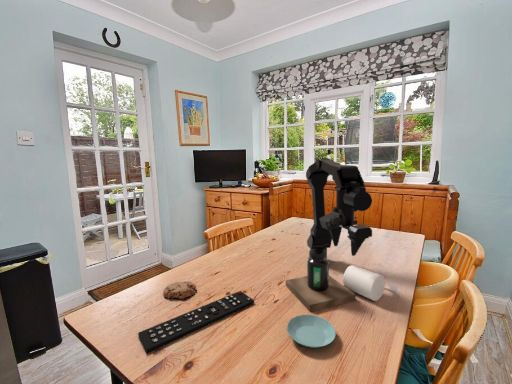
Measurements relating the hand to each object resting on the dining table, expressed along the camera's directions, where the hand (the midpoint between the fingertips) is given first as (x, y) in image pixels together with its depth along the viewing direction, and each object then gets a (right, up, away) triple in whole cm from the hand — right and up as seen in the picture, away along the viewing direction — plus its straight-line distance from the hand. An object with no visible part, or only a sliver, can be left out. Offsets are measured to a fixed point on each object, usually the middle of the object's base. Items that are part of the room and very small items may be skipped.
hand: (344, 250), depth 86 cm
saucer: (-16, -17, -21) cm, 31 cm away
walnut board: (-9, -14, -1) cm, 16 cm away
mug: (+7, -13, -1) cm, 15 cm away
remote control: (-45, -17, -13) cm, 49 cm away
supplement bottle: (-9, -12, -1) cm, 15 cm away
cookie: (-55, -15, +1) cm, 57 cm away
